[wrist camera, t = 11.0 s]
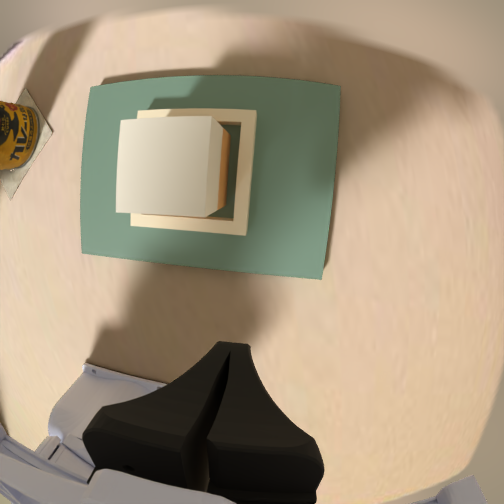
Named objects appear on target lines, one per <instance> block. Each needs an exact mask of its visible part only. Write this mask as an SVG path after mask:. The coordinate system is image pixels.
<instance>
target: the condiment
mask: <svg viewBox="0 0 504 504" xmlns="http://www.w3.org/2000/svg"><path fill="white" fill-rule="evenodd" d="M51 134H52V131H51V129H50V128H49V126H48V124H47V123H46V121H45V119H44V117H43V115H42V114H41V112H40V110H39V109H38V107H37V105H36V104H35V102H34V100H33V99H32V97H31V96H30V94H29V93H28V91H27V89H26V88H25V90H24V91H23V93H22V94H21V96H20V97H19V99H18V101H17V102H16V104H13V103H7V102H3V101H0V179H1V183H2V185H3V187H4V189H5V191H6V193H7V195H8V197H9V199H10V201H11V199H12V197H13V195H14V193H15V191H16V190H17V187H18V185H19V184H20V182H21V181H22V179H23V177H24V176H25V174H26V172H27V171H28V169H29V168H30V167H31V165H32V163H33V162H34V160H35V158H36V157H37V156H38V154H39V153H40V151H41V150H42V148H43V147H44V145H45V144H46V142H47V141H48V139H49V138H50V136H51ZM11 169H12V171H10V170H11ZM13 169H14V171H13Z"/></svg>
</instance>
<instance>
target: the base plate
mask: <svg viewBox="0 0 504 504" xmlns="http://www.w3.org/2000/svg"><path fill="white" fill-rule="evenodd" d="M340 90H341V86H338V85H332V84H325V83H319V82H311V81H304V80H295V79H285V78H274V77H260V76H237V75H198V76H175V77H161V78H150V79H141V80H132V81H125V82H118V83H111V84H105V85H99V86H94V87H91V88H90V94H89V100H88V107H87V114H86V122H85V130H84V140H83V152H82V166H81V193H80V219H81V247H82V253H83V254H91V255H98V256H106V257H114V258H122V259H130V260H138V261H146V262H155V263H163V264H172V265H180V266H189V267H198V268H207V269H217V270H226V271H236V272H245V273H255V274H265V275H276V276H286V277H297V278H308V279H319V280H322V274H323V268H324V261H325V254H326V247H327V240H328V232H329V225H330V216H331V208H332V199H333V190H334V180H335V169H336V158H337V145H338V130H339V113H340ZM178 116H212V117H213V118H214V119H215V120H216V121H217V122H218V123H219V124H220V125H221V126H222V127H223V128H224V129H225V130H226V131H227V132H228V133H229V134H230V135H231V141H230V154H229V168H228V183H227V198H226V206H224V207H222V208H221V209H219V210H217V211H215V212H214V213H212V214H210V215H208V216H207V217H190V216H174V215H157V214H138V213H117V212H116V179H117V159H118V145H119V133H120V123H121V120H127V119H139V118H155V117H178Z"/></svg>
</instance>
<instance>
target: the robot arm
mask: <svg viewBox="0 0 504 504" xmlns="http://www.w3.org/2000/svg"><path fill="white" fill-rule="evenodd" d="M250 348H251V347H250V346H249V344H242V343H232V342H222V341H219V342H217V343H216V344H215V345H214V347H213V348H212V349H211V350H210V351H209V352H208V353H207V354H206V355H205V356H204V357H203V358H202V359H201V360H200V361H199V362H197V363H196V364H195V365H194V366H193V367H192V368H190V369H189V370H188V371H187V372H185V373H184V374H183V375H181V376H180V377H179V378H177V379H176V380H174V381H173V382H171V383H169V384H168V385H167V384H164V383H160V382H155V381H151V380H146V379H142V378H138V377H134V376H130V375H126V374H122V373H119V372H115V371H111V370H108V369H104V368H101V367H98V366H94V365H91V364H88V363H84V364H83V365H82V368H83V373H82V374H81V376H80V377H79V378H78V379H77V380H76V381H75V382H74V383H73V385H72V386H71V387H70V388H69V389H68V390H67V391H66V393H65V394H64V395H63V396H62V397H61V398H60V400H59V401H58V402H57V403H56V404H55V406H54V408H53V409H52V412H51V414H50V418H49V422H48V432H49V436H47V437H46V438H45V439H44V440H43V442H42V443H41V444H40V445H39V446H38V448H37V449H36V450H35V452H34V451H32V450H30V449H29V448H27V447H25V446H24V445H22V444H21V443H19V442H17V441H16V440H14V439H13V438H11V437H10V436H8V435H7V433H6V431H5V429H4V428H3V426H2V425H1V423H0V493H1V494H2V495H3V496H4V497H6V498H7V499H9V500H10V501H11V503H12V504H315V503H316V500H317V497H316V490H317V488H318V486H319V484H320V482H321V480H322V478H323V475H324V464H323V460H322V457H321V454H320V451H319V448H318V446H317V444H316V441H315V439H314V438H313V437H311V436H310V435H308V434H307V433H306V432H304V431H303V430H301V429H300V428H299V427H297V426H296V425H295V424H294V423H293V422H292V421H291V420H290V419H289V418H288V417H287V416H286V415H285V414H284V413H283V412H282V411H281V410H280V409H279V407H278V406H277V405H276V404H275V402H274V401H273V400H272V398H271V397H270V395H269V394H268V392H267V391H266V389H265V387H264V386H263V384H262V382H261V380H260V378H259V376H258V373H257V371H256V368H255V366H254V363H253V360H252V356H251V350H250ZM159 387H161V388H159ZM410 504H488V503H487V501H486V499H485V497H484V495H483V493H482V491H481V489H480V487H479V485H478V483H477V480H476V478H475V477H474V475H470V476H467V477H465V478H462V479H459V480H457V481H454V482H451V483H449V484H448V485H446V486H445V487H443V488H442V489H441V490H440V491H439V492H438V494H437V496H434V497H431V498H428V499H424V500H421V501H417V502H414V503H410Z"/></svg>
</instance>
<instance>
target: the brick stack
mask: <svg viewBox="0 0 504 504" xmlns="http://www.w3.org/2000/svg"><path fill="white" fill-rule="evenodd" d="M230 141H231V135H230V134H229V133H228V132H227V131H226V130H225V129H224V128H223V127H222V126H221V125H220V124H219V123H218V122H217V121H216V120H215V119H214V118H213V117H212V116H178V117H155V118H139V119H127V120H121V123H120V133H119V145H118V159H117V179H116V212H117V213H138V214H157V215H174V216H190V217H207V216H208V215H210V214H212V213H214V212H215V211H217V210H219V209H221V208H222V207H224V206H226V198H227V183H228V168H229V154H230Z"/></svg>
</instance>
